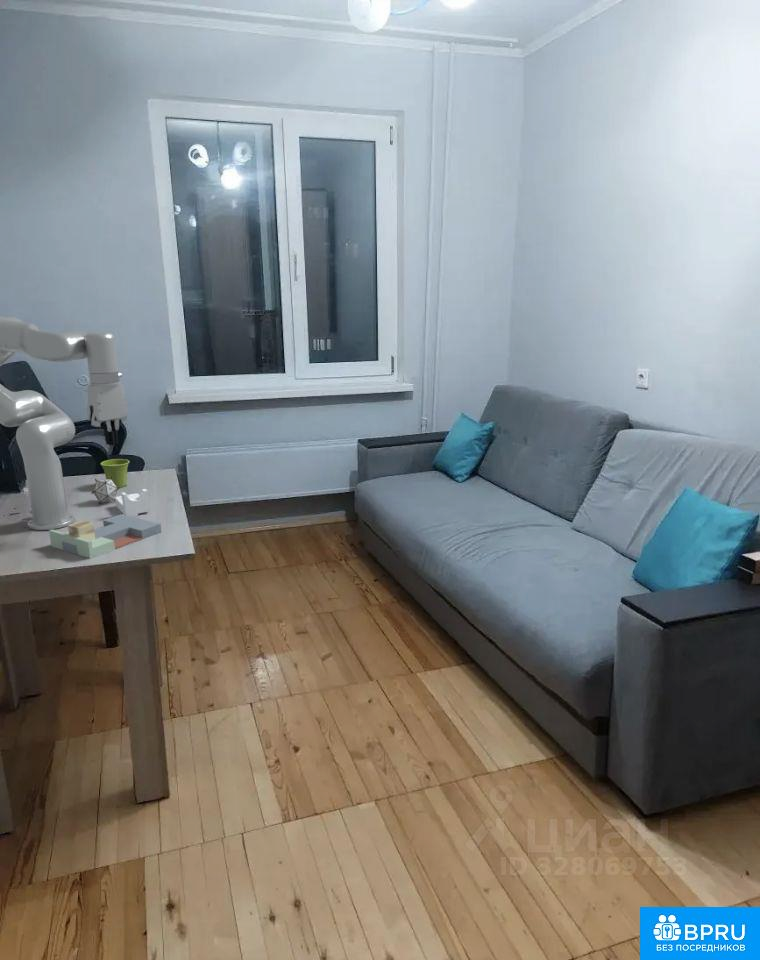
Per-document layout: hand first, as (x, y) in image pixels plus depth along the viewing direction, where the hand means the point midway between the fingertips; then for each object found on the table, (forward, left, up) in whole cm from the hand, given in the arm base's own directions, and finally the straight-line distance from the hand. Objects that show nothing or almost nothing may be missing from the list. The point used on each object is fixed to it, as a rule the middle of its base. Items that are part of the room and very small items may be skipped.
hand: (112, 444), depth 192 cm
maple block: (+5, -16, -23) cm, 28 cm away
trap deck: (+4, -7, -25) cm, 26 cm away
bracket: (-12, +13, -26) cm, 31 cm away
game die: (-26, +14, -25) cm, 39 cm away
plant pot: (-39, +28, -25) cm, 54 cm away
